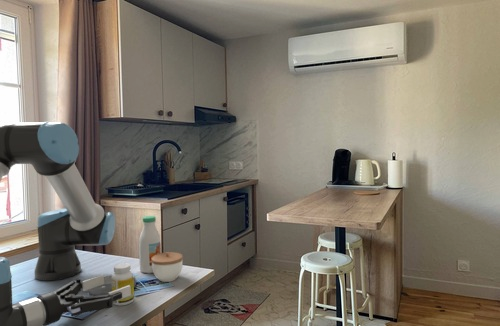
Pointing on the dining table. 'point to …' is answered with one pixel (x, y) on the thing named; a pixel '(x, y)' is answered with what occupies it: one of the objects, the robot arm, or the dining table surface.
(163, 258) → the lidded jar
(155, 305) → the dining table surface
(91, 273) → the dining table surface
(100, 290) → the slate plate
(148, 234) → the milk bottle
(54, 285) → the dining table surface
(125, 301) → the pill bottle
